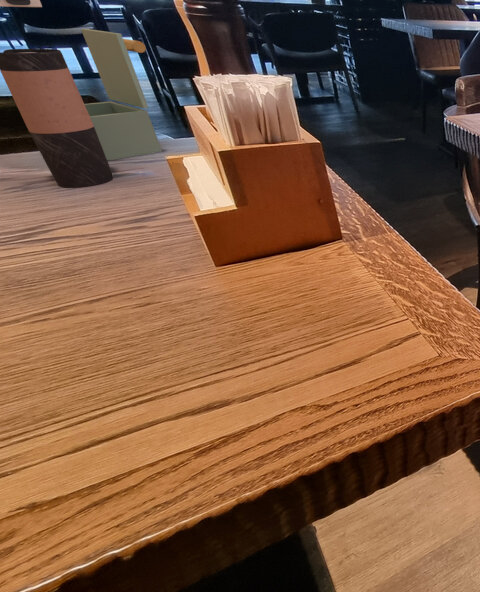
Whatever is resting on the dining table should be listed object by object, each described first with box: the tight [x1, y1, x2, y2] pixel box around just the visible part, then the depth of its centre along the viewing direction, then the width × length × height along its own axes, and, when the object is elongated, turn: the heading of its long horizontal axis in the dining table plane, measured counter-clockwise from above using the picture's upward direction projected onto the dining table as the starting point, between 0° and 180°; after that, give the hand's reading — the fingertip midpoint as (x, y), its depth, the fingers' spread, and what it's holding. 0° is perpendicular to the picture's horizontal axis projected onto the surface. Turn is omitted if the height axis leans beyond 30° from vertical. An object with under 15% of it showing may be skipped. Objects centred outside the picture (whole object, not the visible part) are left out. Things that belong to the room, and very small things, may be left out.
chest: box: [84, 100, 163, 161], centre depth 98 cm, size 12×15×9 cm
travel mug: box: [0, 48, 114, 188], centre depth 83 cm, size 8×8×20 cm
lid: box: [80, 28, 149, 109], centre depth 99 cm, size 12×15×5 cm
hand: (12, 2), depth 70 cm, fingers closed on block, 4 cm apart
